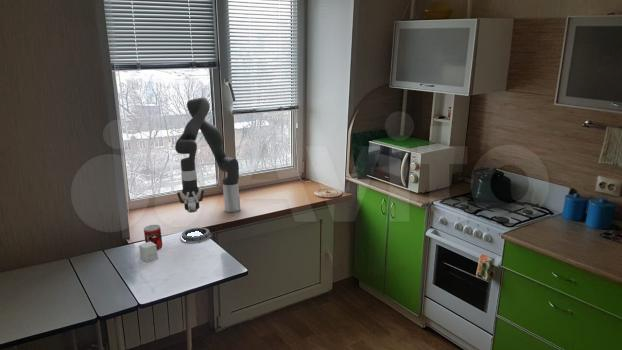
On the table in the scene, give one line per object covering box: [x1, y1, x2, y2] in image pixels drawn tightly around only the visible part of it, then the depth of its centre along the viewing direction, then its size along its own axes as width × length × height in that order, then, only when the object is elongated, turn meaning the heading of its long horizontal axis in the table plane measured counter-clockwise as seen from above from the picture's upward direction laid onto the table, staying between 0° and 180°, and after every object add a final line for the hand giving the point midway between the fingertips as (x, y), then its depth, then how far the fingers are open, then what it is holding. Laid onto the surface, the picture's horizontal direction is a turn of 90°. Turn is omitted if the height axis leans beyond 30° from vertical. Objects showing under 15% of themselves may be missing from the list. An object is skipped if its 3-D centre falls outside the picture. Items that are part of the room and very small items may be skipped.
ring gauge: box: [181, 226, 212, 243], centre depth 248 cm, size 16×16×3 cm
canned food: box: [143, 224, 163, 251], centre depth 234 cm, size 8×8×11 cm
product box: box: [138, 241, 159, 263], centre depth 222 cm, size 6×6×7 cm
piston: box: [187, 197, 198, 213], centre depth 243 cm, size 5×5×7 cm
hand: (192, 209), depth 244 cm, fingers closed on piston, 4 cm apart
